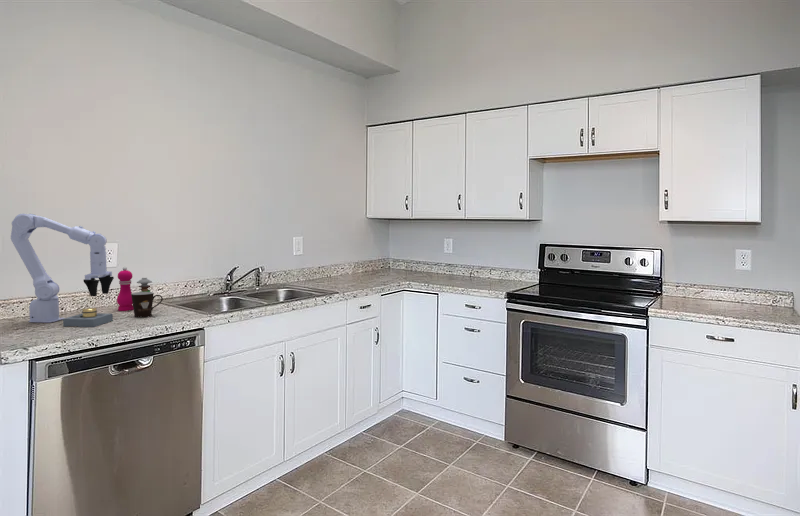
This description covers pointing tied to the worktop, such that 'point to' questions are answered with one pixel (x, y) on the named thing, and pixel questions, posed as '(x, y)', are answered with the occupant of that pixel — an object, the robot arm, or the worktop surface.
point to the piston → (89, 312)
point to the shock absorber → (144, 285)
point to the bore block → (87, 320)
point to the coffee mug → (143, 303)
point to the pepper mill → (125, 291)
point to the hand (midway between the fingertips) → (99, 294)
